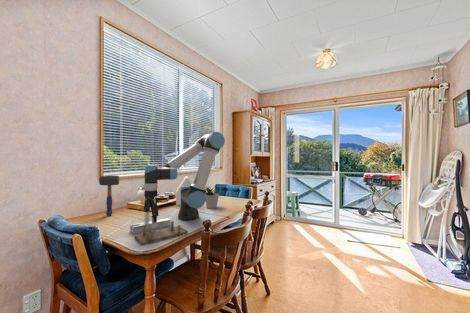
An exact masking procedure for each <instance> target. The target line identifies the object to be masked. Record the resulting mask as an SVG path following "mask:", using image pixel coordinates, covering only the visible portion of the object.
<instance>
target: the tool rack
mask: <svg viewBox="0 0 470 313" xmlns="http://www.w3.org/2000/svg"><path fill="white" fill-rule="evenodd" d="M187 233H188V234H189V231H188V230H187V229H186V228H183V227H182V226H181V225H180V224H178V225H177V226H175V224H174V220H173V221H171V224H170V227H169V228H168V227H167V228H164V229H159V230H155V231H152V230H148V232H147V231H146V227H143V232H141V234H140V233H139V234H135V235H134V239H135V240H136V241H137V242H138V243H139V244H140V246H144V245H149V244H152V243H157V242H160V240H161V241H164V240H168V239H172V237H173V238H177V237H181V236H184V235H183V234H185V235H188V234H187ZM180 235H181V236H180ZM176 236H177V237H176Z"/></svg>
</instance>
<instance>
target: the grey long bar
mask: <svg viewBox="0 0 470 313" xmlns="http://www.w3.org/2000/svg"><path fill="white" fill-rule="evenodd" d="M143 227H146V232H147V231H148V232H149V231H152V230H157V229H162V228H165V227H167V228H168V227H171V219H170V218H168V217H166V218H161V219H157V227H155V228H152V220H149V222H145V221H144V222H138V223H132V224H131V223H130V226H129V232H130V233H132V235H138V234H140V233H141V234H142V233H143Z"/></svg>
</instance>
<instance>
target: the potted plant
mask: <svg viewBox="0 0 470 313" xmlns="http://www.w3.org/2000/svg"><path fill="white" fill-rule="evenodd" d="M205 188H206V193H205V197H206V201H205V208H207V209H210V210H211V209H213V210H214V209H216V208H217V207H218V201H219V196H220V194H219V193H218V192H217V191H218V190H217V189H215V187H212V188H211V186H209V185H207V184H206V186H205Z"/></svg>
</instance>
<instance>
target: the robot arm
mask: <svg viewBox="0 0 470 313" xmlns="http://www.w3.org/2000/svg"><path fill="white" fill-rule="evenodd" d="M225 142H226V139H225V136H224V135H223V134H222V133H221V132H220V131H212V132H207V133H205V134H203V135H202V136H201V137H200V138H199V139H198V140H196V141H194V144H192V145H191V146H190V147H188V148H187V149H186V150H184V151H183V152H181V153H180V154H179V155H177V156H175V157H174V158H172V159H171V160H170V161H168V162H167V163H165V164H164V165H162V166H160V167H159V166H158V165H157V164H146V165H145V166H144V185H143V187H144V193H143V195H144V204H143V211H144V223H145V222H150V216H151V221H152V228H155V227H157V220H158V217H159V216H160V215H159V208H158V199H155V197H157V196H158V185H159V184H158V181H163V180H165V181H166V180H167V181H168V180H169V181H170V180H171V181H172V180H177V178H178V169H179V168H181V167H182V166H184V165H185V164H187V163H188V162H190V161H191V160H192V159H193V158H195V157H196V156H198V155H199V154H201V153H202V157H201V158H200V159H201V160H200V162H199V164H198V167H197V172H196V174H195V177H194V180H193V183H192V184H191V185H190V186H184V187H181V191H180V192H181V205H179V206H180V207H179V210H178V212H177V219H178V220H180V221H193V220H194V221H195V220H197V219H199V218H200V216H199V215H200V213H199V210H198V209H200V208H201V207H203V206H204V205H205V204H206V197H205V193H206V192H207V191H206V189H207V188H205V187H207V186H206V185H207V183H208V180H209V176H210V174H211V170H212V168H213V164H214V161H215V159H216V155H218V154H220V151H221V148H223V147H224V145H225ZM150 212H151V213H150ZM150 214H151V215H150Z"/></svg>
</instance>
